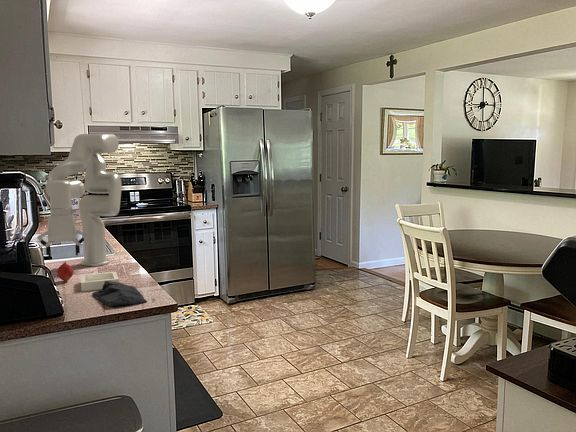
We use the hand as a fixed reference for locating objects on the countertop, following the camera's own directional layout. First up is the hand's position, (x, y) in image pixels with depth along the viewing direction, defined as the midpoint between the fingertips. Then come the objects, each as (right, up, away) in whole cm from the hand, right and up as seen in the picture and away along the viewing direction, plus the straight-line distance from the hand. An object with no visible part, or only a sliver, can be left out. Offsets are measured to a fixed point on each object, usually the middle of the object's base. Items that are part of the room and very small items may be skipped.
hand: (63, 255), depth 182 cm
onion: (0, -11, +2) cm, 11 cm away
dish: (+15, -11, -3) cm, 19 cm away
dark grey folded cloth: (+29, -14, -19) cm, 37 cm away
